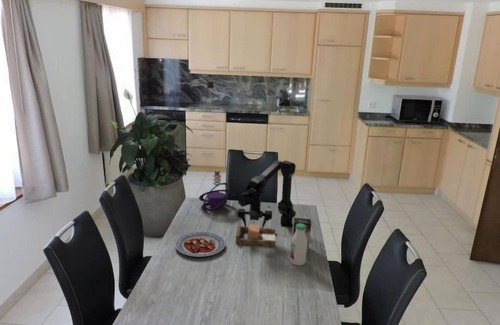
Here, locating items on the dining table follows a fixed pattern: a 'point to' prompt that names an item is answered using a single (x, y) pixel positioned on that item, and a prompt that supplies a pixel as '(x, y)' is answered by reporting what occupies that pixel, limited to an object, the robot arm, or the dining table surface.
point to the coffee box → (307, 230)
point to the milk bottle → (298, 246)
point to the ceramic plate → (200, 244)
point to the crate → (253, 231)
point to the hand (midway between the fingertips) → (254, 228)
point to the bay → (266, 239)
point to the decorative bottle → (216, 194)
